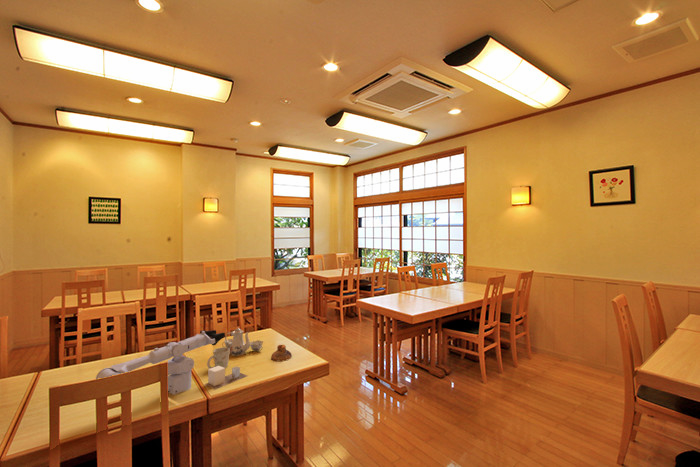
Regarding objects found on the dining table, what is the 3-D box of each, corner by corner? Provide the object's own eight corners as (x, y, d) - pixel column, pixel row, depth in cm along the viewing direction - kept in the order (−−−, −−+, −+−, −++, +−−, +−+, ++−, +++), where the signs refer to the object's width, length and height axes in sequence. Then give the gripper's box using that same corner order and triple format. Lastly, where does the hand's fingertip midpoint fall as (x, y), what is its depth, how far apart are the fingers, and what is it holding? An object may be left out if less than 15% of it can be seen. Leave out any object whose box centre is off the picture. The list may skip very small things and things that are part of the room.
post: (235, 379, 157) (235, 369, 157) (232, 378, 158) (232, 367, 158) (239, 377, 159) (239, 367, 159) (236, 376, 160) (236, 366, 160)
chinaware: (266, 350, 205) (267, 324, 207) (256, 357, 188) (257, 328, 190) (225, 349, 208) (226, 323, 210) (211, 356, 191) (213, 327, 193)
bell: (294, 359, 186) (294, 346, 186) (273, 362, 181) (273, 349, 181) (288, 353, 197) (288, 341, 197) (269, 356, 192) (269, 343, 192)
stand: (215, 391, 146) (215, 389, 146) (204, 386, 151) (204, 384, 151) (248, 377, 161) (248, 375, 161) (237, 373, 166) (237, 371, 166)
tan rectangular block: (214, 386, 150) (214, 371, 150) (208, 383, 153) (208, 369, 153) (225, 381, 154) (225, 368, 154) (218, 379, 157) (218, 365, 157)
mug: (233, 367, 174) (233, 348, 174) (212, 375, 163) (212, 356, 164) (223, 364, 178) (223, 346, 179) (202, 372, 168) (202, 353, 168)
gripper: (202, 337, 148) (228, 327, 159) (185, 331, 156) (211, 323, 167) (203, 351, 148) (229, 341, 159) (187, 346, 157) (212, 336, 168)
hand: (220, 333), depth 163 cm, fingers open, 7 cm apart
